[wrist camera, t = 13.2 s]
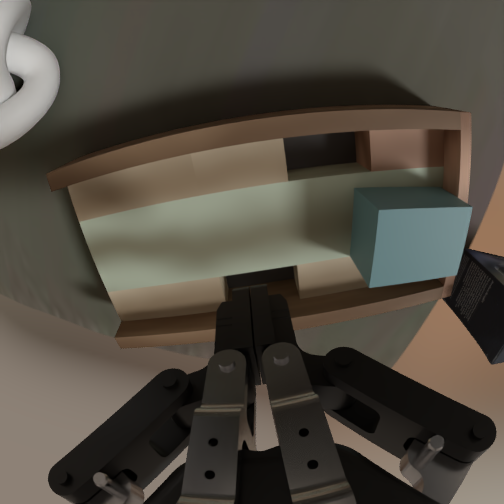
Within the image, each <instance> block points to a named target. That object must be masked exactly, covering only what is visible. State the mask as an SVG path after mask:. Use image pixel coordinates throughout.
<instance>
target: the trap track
mask: <svg viewBox="0 0 504 504" xmlns="http://www.w3.org/2000/svg"><path fill="white" fill-rule="evenodd" d="M470 165H471V113H469V112H464V111H459V110H454V109H448V108H442V107H436V106H426V105H350V106H331V107H317V108H306V109H295V110H286V111H277V112H269V113H262V114H255V115H248V116H242V117H236V118H230V119H224V120H219V121H213V122H208V123H203V124H198V125H193V126H189V127H184V128H180V129H175V130H171V131H167V132H163V133H159V134H155V135H151V136H147V137H143V138H140V139H136V140H132V141H129V142H125V143H122V144H119V145H115V146H112V147H109V148H106V149H102V150H99V151H96V152H93V153H90V154H87V155H84V156H81V157H79V158H77V159H75V160H73V161H71V162H69V163H67V164H65V165H63V166H61V167H59V168H57V169H55V170H53V171H51V172H49V173H47V174H46V176H47V179H48V182H49V186H50V189H51V192H52V191H55V190H58V189H61V188H64V187H68V190H69V193H70V196H71V200H72V203H73V206H74V209H75V212H76V214H77V217H78V220H79V223H80V226H81V229H82V231H83V234H84V237H85V239H86V242H87V244H88V247H89V250H90V252H91V255H92V257H93V260H94V262H95V264H96V267H97V269H98V272H99V274H100V276H101V278H102V281H103V283H104V285H105V287H106V290H107V292H108V294H109V296H110V298H111V301H112V303H113V305H114V307H115V309H116V311H117V313H118V315H119V317H120V319H121V321H122V322H121V324H120V326H119V329H118V331H117V333H116V336H115V339H116V341H117V343H118V345H119V346H120V348H137V347H138V348H139V347H155V346H169V345H181V344H192V343H202V342H212V341H215V330H216V313H217V309H218V307H219V306H220V304H221V303H222V302H226V301H232V289H236V288H243V287H249V290H250V286H257V285H263V284H267V290H268V295H275V294H281V295H282V296H283V297H284V298H285V299H286V300H287V303H288V307H289V312H290V317H291V321H292V325H293V329H294V330H299V329H305V328H311V327H317V326H322V325H328V324H333V323H338V322H343V321H348V320H353V319H358V318H363V317H368V316H372V315H377V314H381V313H386V312H390V311H394V310H398V309H403V308H407V307H411V306H415V305H419V304H423V303H426V302H430V301H434V300H438V299H441V298H445V297H449V296H451V292H452V288H453V284H454V280H455V276H449V277H443V278H436V279H430V280H423V281H417V282H410V283H403V284H395V285H388V286H381V287H373V288H369V287H368V285H367V284H366V282H365V280H364V279H363V277H362V275H361V274H360V272H359V270H358V269H357V267H356V265H355V264H354V262H353V260H352V259H351V257H350V247H351V234H352V219H353V202H354V188H365V187H441V188H443V189H444V190H446V191H448V192H449V193H451V194H453V195H454V196H456V197H458V198H459V199H461V200H462V201H464V202H466V203H468V193H469V181H470ZM250 295H251V292H250Z"/></svg>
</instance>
